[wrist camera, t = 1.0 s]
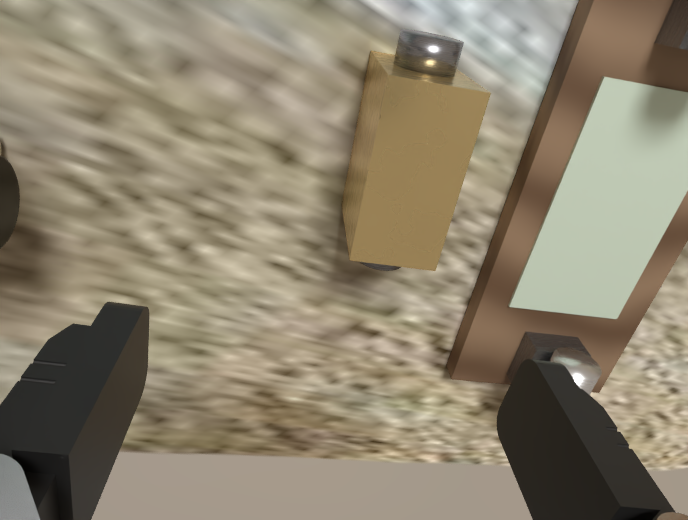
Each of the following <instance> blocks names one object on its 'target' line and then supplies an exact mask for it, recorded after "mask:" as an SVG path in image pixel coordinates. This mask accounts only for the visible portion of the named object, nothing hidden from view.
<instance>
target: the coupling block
mask: <svg viewBox="0 0 688 520" xmlns="http://www.w3.org/2000/svg"><path fill="white" fill-rule="evenodd" d="M463 44H464V42H462V41H460V40H456V39H453V38H449V37H445V36H441V35H437V34H432V33H427V32H422V31H416V30H409V29H401V30H400V35H399V39H398V44H397V49H396V54H395V55H392V54H386V53H381V52H375V51H371V52H370V57H369V63H368V68H367V73H366V78H365V84H364V89H363V94H362V99H361V105H360V110H359V115H358V121H357V126H356V131H355V136H354V142H353V147H352V152H351V158H350V163H349V168H348V173H347V179H346V184H345V189H344V195H343V200H342V210H343V217H344V224H345V232H346V239H347V246H348V253H349V260H350V261H358V262H360V263H362V264H364V265H365V266H368V267H370V268H373V269H378V270H385V271H389V270H396V269H399V268H400V267H407V268H415V269H423V270H431V271H435V270H436V267H437V264H438V261H439V258H440V254H441V251H442V248H443V245H444V242H445V238H446V235H447V232H448V229H449V226H450V222H451V219H452V216H453V213H454V210H455V206H456V203H457V200H458V197H459V193H460V190H461V187H462V184H463V181H464V177H465V174H466V171H467V168H468V165H469V161H470V158H471V155H472V152H473V149H474V145H475V142H476V139H477V136H478V133H479V129H480V126H481V123H482V120H483V116H484V113H485V110H486V107H487V104H488V100H489V97H490V94H491V93H490V92H489V91H487V90H486V89H484V88H483V87H481V86H480V85H479V84H477V83H476V82H474V81H473V80H471V79H470V78H469V77H467V76H466V75H464V74H463V73H461V72H460V71H458V70H457V66H458V62H459V58H460V55H461V51H462V47H463Z"/></svg>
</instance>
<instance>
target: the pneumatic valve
mask: <svg viewBox="0 0 688 520" xmlns="http://www.w3.org/2000/svg"><path fill="white" fill-rule="evenodd" d="M19 202H20V195H19V185H18V180H17V177H16V174H15V171H14V169H13V168H12V166H11V164H10V163H9V162H8V160H7V159H5V158H4V157H3V156H1V142H0V249H1V248H2V247H3V246H4V245H5V244H6V242H7V241H8V240H9V238H10V236H11V234H12V232H13V230H14V227H15V225H16V221H17V217H18V212H19Z"/></svg>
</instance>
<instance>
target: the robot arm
mask: <svg viewBox="0 0 688 520" xmlns="http://www.w3.org/2000/svg"><path fill="white" fill-rule="evenodd" d="M148 340H149V309H148V307H144V306H137V305H129V304H122V303H114V302H107V303H106V304H105V305H104V306H103V308H102V309H101V311H100V312H99V314H98V315H97V317H96V319H95V320H94V322H93V323H92V325H91V326H87V325H79V324H72V325H70V326H69V327H67V328H65V329H64V330H62V331H61V332H59V333H58V334H56V335H55V336H53V337H52V338H50V339H49V340H48V341H47V342H46V344H45V345H44V346H43V348H42V349H41V350H40V352H39V353H38V354H37V356H36V357H35V359H34V362H33V364H30V365H29V367H28V368H27V369H26V371H25V372H24V374H23V375H22V376H21V380H20V381H18V382H17V383H16V384H15V386H14V387H13V388H12V390H11V391H10V393H9V394H8V395H7V397H6V398H5V399H4V401H3V402H2V403H1V405H0V520H91V519H92V516H93V514H94V511H95V509H96V506H97V504H98V501H99V499H100V497H101V494H102V492H103V489H104V487H105V484H106V482H107V479H108V477H109V475H110V472H111V470H112V467H113V465H114V462H115V460H116V457H117V455H118V453H119V450H120V448H121V445H122V443H123V440H124V438H125V435H126V433H127V431H128V428H129V426H130V423H131V421H132V418H133V416H134V413H135V411H136V409H137V406H138V404H139V401H140V399H141V396H142V393H143V390H144V386H145V381H146V376H147V368H148ZM497 431H498V436H499V439H500V441H501V444H502V446H503V449H504V451H505V453H506V456H507V458H508V461H509V463H510V465H511V468H512V470H513V473H514V475H515V477H516V480H517V482H518V485H519V487H520V490H521V492H522V494H523V497H524V499H525V501H526V504H527V507H528V509H529V511H530V514H531V516H532V518H533V520H688V516H687V515H684V514H681V513H676V512H675V511H674V510H673V508H672V507H671V505H670V504H669V502H668V501H667V499H666V498H665V496H664V495H663V493H662V492H661V491H660V489H659V488H658V487H657V485H656V483H655V482H654V480H653V479H652V478H651V476H650V475H649V473H648V472H647V470H646V469H645V467H644V466H643V464H642V463H641V462H640V460H639V459H638V457H637V456H636V454H635V453H634V451H633V450H632V449H629V444H628V443H627V441H626V440H625V438H624V437H623V435H622V434H621V432H617V427H616V425H615V424H614V422H613V421H612V419H611V418H610V417H609V415H608V414H607V412H606V411H605V409H604V408H603V407H602V406H601V405H600V404H599V403H598V402H597V401H595V400H594V399H593V398H592V397H591V396H590V395H589V394H588V393H587V392H585V391H584V390H583V389H580V388H579V386H578V385H577V383H576V382H575V380H574V379H573V377H572V376H571V374H570V373H569V371H568V370H567V368H566V367H565V366H564V365H563V364H561V363H556V362H548V361H541V360H533V359H526V360H524V361H523V362H522V363H521V365H520V366H519V368H518V371H517V373H516V375H515V377H514V379H513V381H512V383H511V385H510V387H509V389H508V391H507V393H506V396H505V398H504V400H503V402H502V404H501V406H500V408H499V411H498V416H497Z"/></svg>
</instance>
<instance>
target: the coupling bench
mask: <svg viewBox="0 0 688 520" xmlns="http://www.w3.org/2000/svg"><path fill="white" fill-rule="evenodd" d="M687 241H688V0H579V2H578V5H577V8H576V11H575V13H574V16H573V19H572V22H571V24H570V27H569V30H568V32H567V35H566V38H565V41H564V43H563V46H562V49H561V52H560V54H559V57H558V60H557V63H556V65H555V68H554V71H553V74H552V76H551V79H550V82H549V85H548V87H547V90H546V93H545V96H544V98H543V101H542V104H541V107H540V109H539V112H538V115H537V118H536V120H535V123H534V126H533V129H532V131H531V134H530V137H529V140H528V142H527V145H526V148H525V151H524V153H523V156H522V159H521V162H520V164H519V167H518V170H517V173H516V175H515V178H514V181H513V184H512V186H511V189H510V192H509V195H508V197H507V200H506V203H505V206H504V208H503V211H502V214H501V217H500V219H499V222H498V225H497V228H496V230H495V233H494V236H493V239H492V241H491V244H490V247H489V250H488V252H487V255H486V258H485V261H484V263H483V266H482V269H481V272H480V274H479V277H478V280H477V283H476V285H475V288H474V291H473V294H472V296H471V299H470V302H469V305H468V307H467V310H466V313H465V316H464V318H463V321H462V324H461V327H460V329H459V332H458V335H457V338H456V340H455V343H454V346H453V349H452V351H451V354H450V357H449V360H448V362H447V368H448V371H449V374H450V377H451V379H455V380H466V381H477V382H488V383H499V384H510V385H511V383H512V381H513V379H514V377H515V375H516V373H517V371H518V368H519V366H520V365H521V363H522V362H523V361H524V360H526V359H533V360H541V361H548V362H556V363H561V364H563V365H564V366H565V367H566V368H567V370H568V371H569V373H570V374H571V376H572V377H573V379H574V380H575V382H576V383H577V385H578V386H579V388H580V389H583V390H584V391H585V392H587V393H588V394H589V395H590V393H591V392H598V393H599V392H600V390H601V389H602V387H603V385H604V383H605V382H606V380H607V378H608V376H609V375H610V373H611V371H612V370H613V368H614V366H615V364H616V363H617V361H618V359H619V358H620V356H621V354H622V352H623V351H624V349H625V347H626V346H627V344H628V342H629V340H630V339H631V337H632V335H633V333H634V332H635V330H636V328H637V327H638V325H639V323H640V321H641V320H642V318H643V316H644V315H645V313H646V311H647V309H648V308H649V306H650V304H651V303H652V301H653V299H654V297H655V296H656V294H657V292H658V290H659V289H660V287H661V285H662V284H663V282H664V280H665V278H666V277H667V275H668V273H669V272H670V270H671V268H672V266H673V265H674V263H675V261H676V260H677V258H678V256H679V254H680V253H681V251H682V249H683V247H684V246H685V244H686V242H687Z"/></svg>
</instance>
